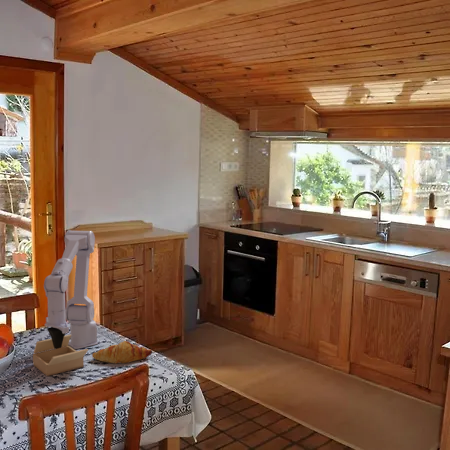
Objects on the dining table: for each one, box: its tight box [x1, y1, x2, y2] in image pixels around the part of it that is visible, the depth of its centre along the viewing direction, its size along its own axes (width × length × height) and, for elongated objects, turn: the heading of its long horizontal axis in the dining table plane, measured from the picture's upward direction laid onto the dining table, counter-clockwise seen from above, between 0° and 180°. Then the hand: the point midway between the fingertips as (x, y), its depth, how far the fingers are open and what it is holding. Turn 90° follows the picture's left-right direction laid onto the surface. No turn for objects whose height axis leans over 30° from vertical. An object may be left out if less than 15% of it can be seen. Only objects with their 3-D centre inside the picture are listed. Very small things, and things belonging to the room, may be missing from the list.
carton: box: [32, 345, 85, 377], centre depth 189 cm, size 13×12×4 cm
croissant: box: [91, 340, 153, 364], centre depth 196 cm, size 21×10×8 cm, turn 99°
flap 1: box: [33, 334, 71, 354], centre depth 191 cm, size 12×6×1 cm
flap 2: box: [48, 348, 89, 366], centre depth 182 cm, size 12×6×1 cm
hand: (57, 347), depth 188 cm, fingers closed
